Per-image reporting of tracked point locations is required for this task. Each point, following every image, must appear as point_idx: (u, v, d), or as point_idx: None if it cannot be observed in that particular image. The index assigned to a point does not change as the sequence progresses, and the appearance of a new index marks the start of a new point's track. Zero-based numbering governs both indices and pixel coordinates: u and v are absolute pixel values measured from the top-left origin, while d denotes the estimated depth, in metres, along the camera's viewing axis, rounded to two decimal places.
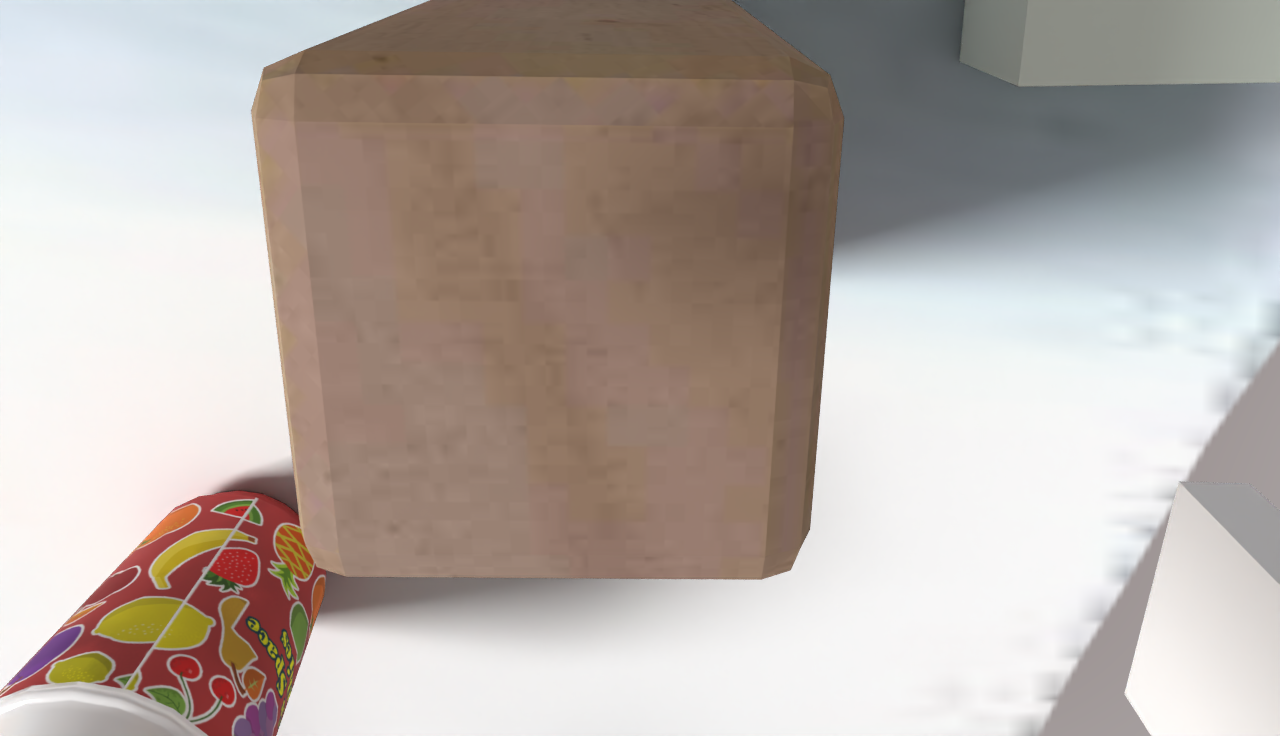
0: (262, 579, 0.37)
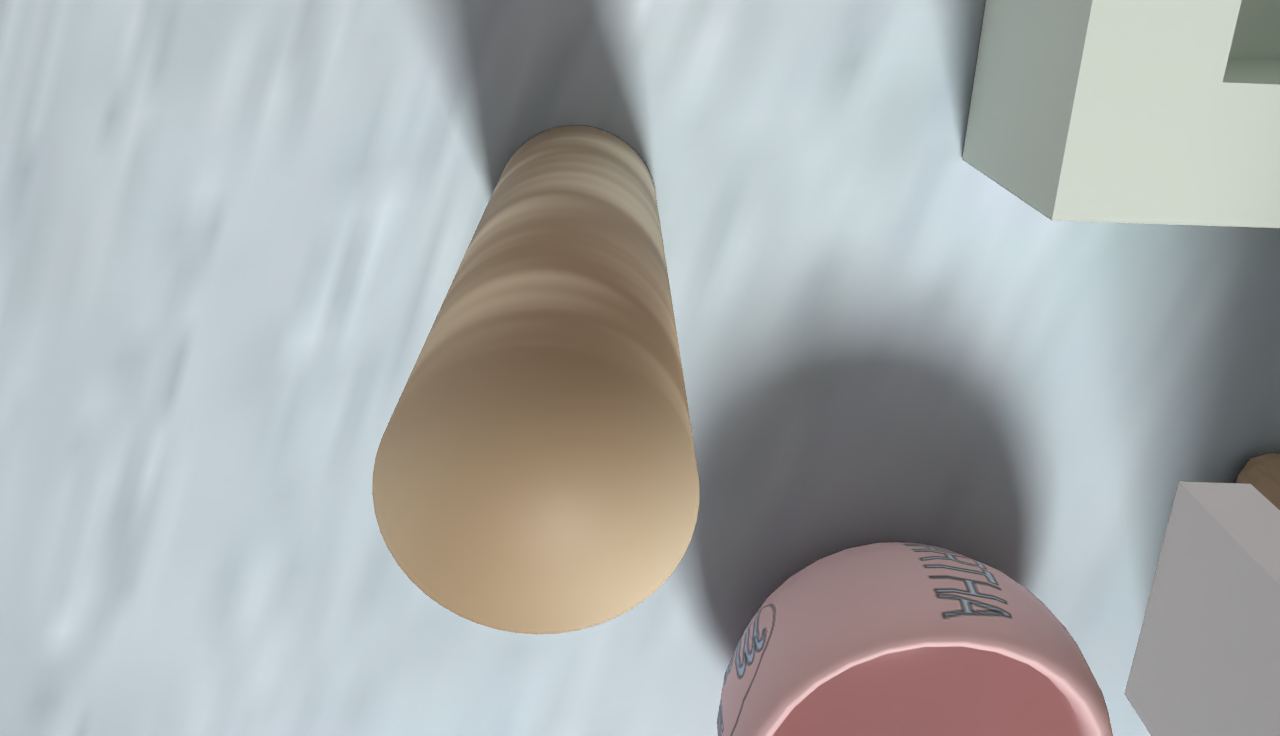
0: None
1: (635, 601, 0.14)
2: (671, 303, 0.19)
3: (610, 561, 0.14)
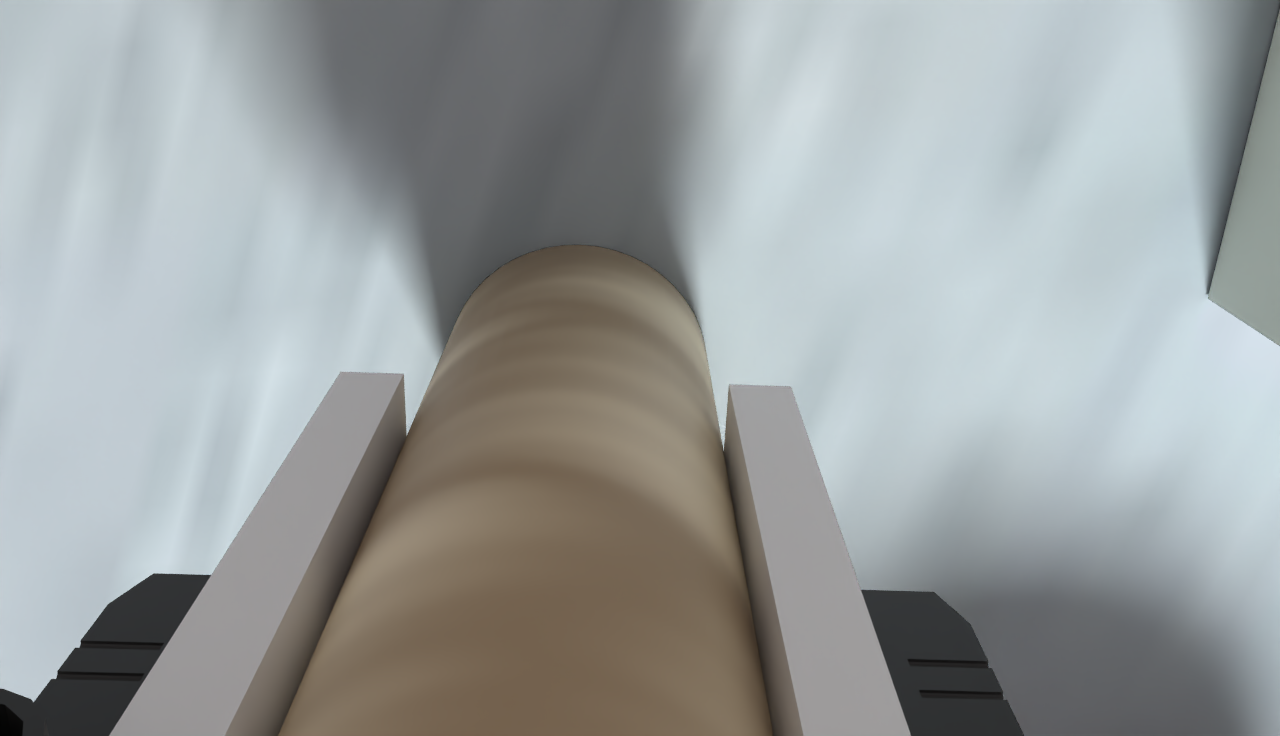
0: None
1: None
2: None
3: None
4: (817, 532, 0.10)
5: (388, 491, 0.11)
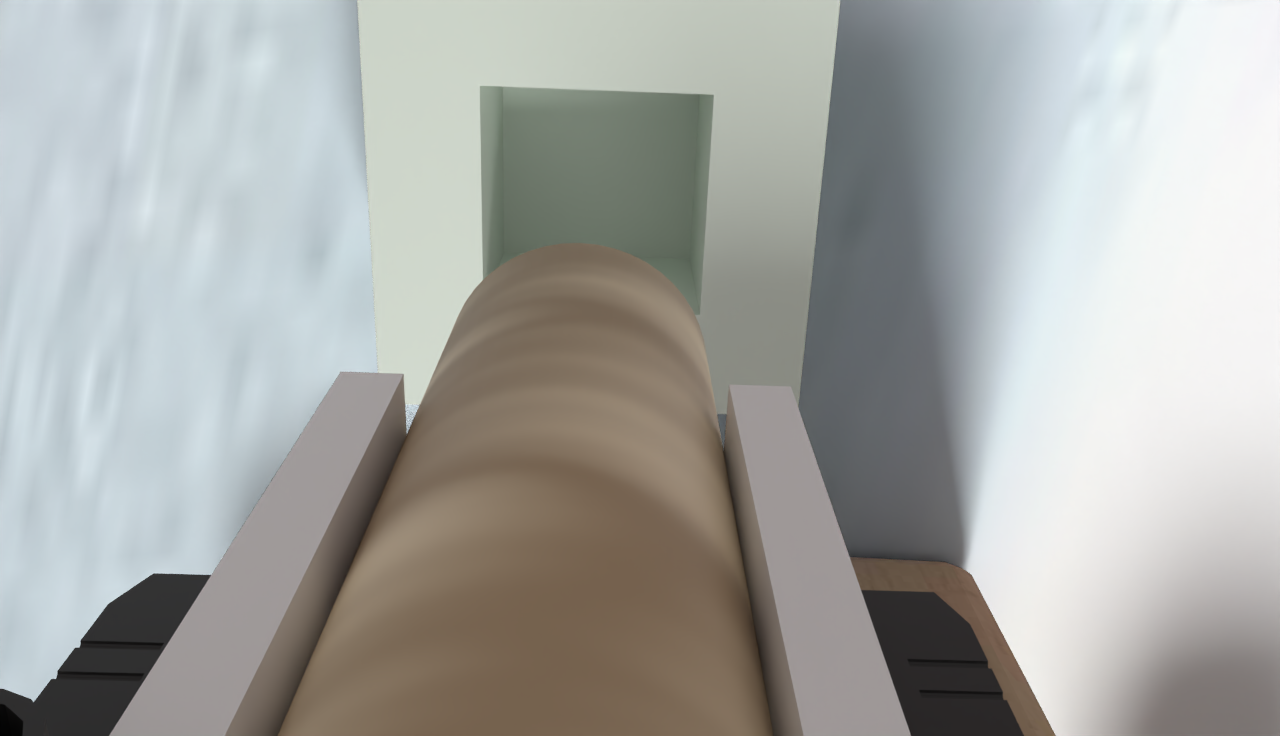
0: None
1: None
2: None
3: None
4: (817, 532, 0.10)
5: (389, 487, 0.11)
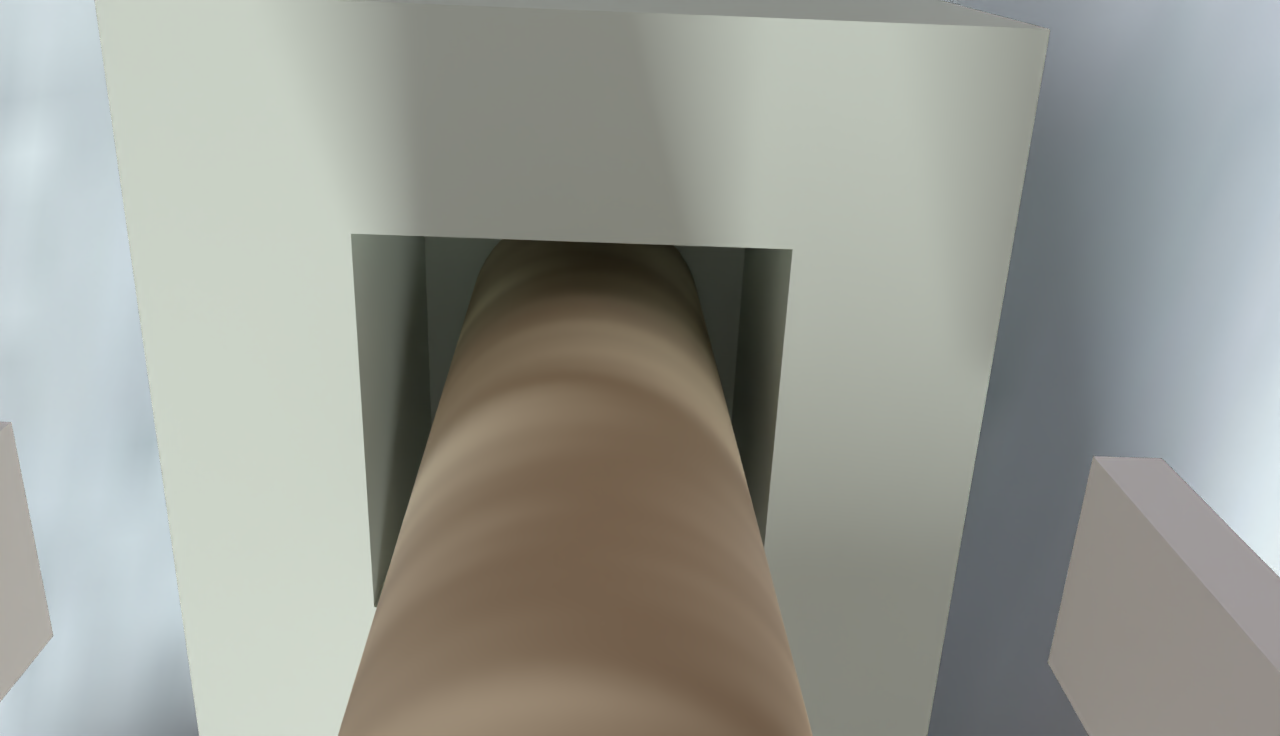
0: None
1: None
2: (775, 594, 0.11)
3: None
4: None
5: (447, 403, 0.13)
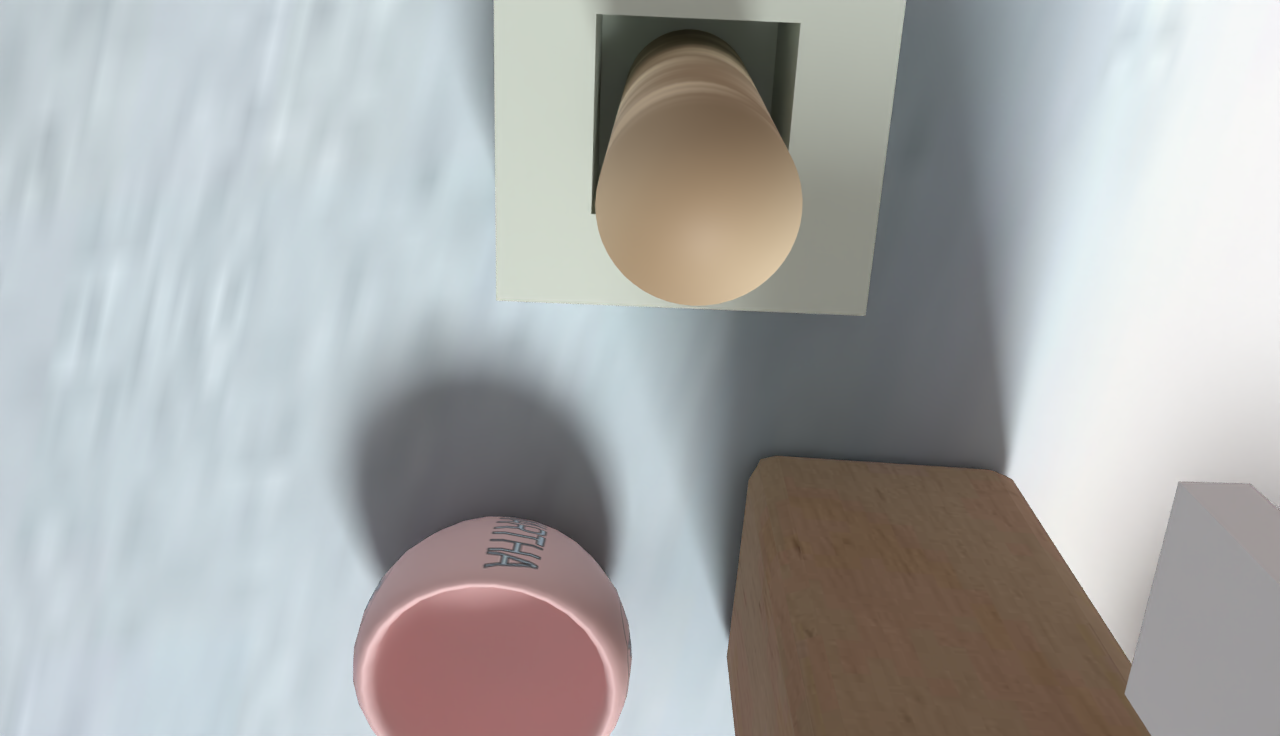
0: None
1: (757, 285, 0.22)
2: None
3: (743, 253, 0.21)
4: None
5: (631, 81, 0.29)
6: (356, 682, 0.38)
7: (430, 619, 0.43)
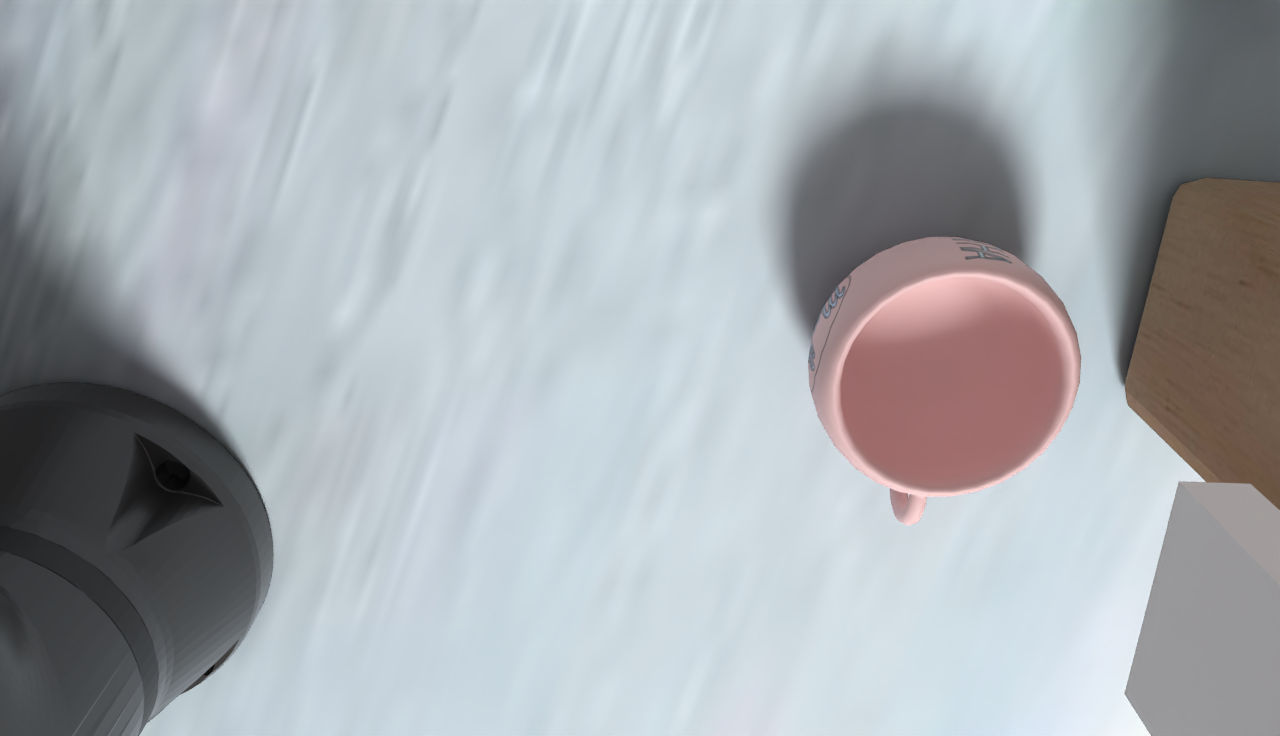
0: None
1: None
2: None
3: None
4: None
5: None
6: (828, 381, 0.40)
7: (848, 352, 0.45)
